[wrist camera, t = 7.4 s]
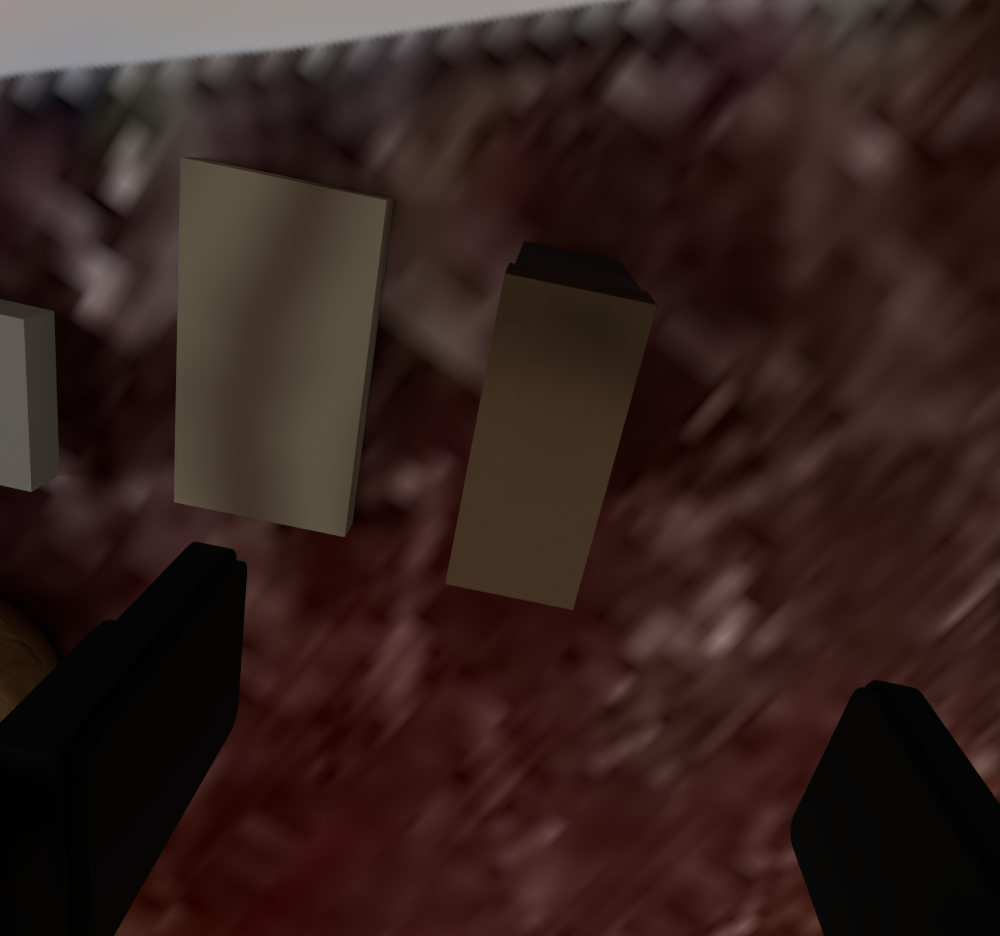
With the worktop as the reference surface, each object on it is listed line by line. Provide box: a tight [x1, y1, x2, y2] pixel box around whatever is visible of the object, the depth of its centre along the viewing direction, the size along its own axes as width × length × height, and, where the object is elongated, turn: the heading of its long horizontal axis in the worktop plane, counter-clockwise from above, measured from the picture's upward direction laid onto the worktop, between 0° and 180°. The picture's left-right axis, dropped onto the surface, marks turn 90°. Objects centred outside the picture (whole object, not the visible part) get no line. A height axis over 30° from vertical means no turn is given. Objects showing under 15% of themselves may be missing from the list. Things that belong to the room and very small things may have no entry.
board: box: [174, 157, 394, 537], centre depth 27 cm, size 7×13×1 cm, turn 169°
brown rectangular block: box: [446, 242, 657, 610], centre depth 23 cm, size 4×9×9 cm, turn 169°
